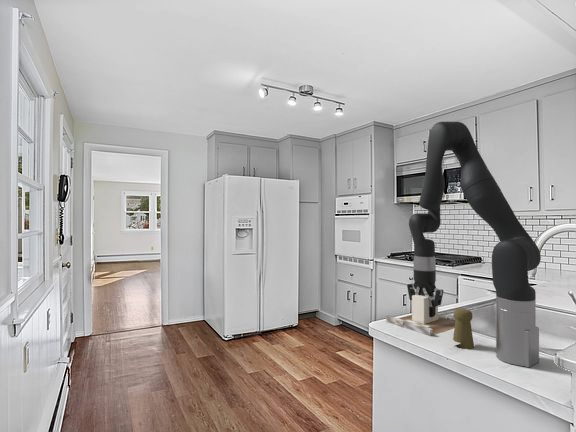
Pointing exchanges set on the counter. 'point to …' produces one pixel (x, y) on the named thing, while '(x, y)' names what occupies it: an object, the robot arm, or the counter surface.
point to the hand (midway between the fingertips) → (424, 314)
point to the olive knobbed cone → (463, 329)
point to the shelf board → (423, 325)
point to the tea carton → (422, 309)
